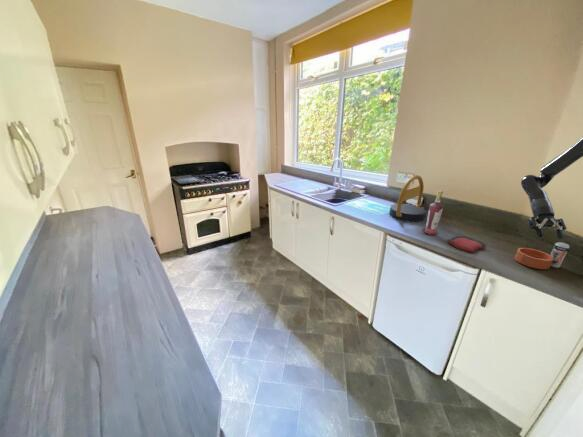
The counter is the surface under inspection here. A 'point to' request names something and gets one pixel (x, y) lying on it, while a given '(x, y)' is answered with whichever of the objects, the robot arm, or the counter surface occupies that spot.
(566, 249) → the beer can
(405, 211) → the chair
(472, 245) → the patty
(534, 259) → the bowl
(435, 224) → the liquor
